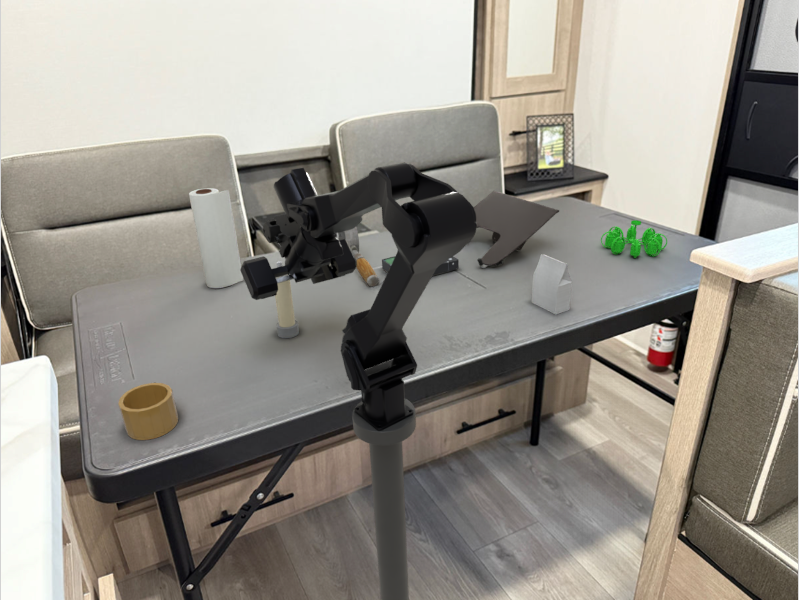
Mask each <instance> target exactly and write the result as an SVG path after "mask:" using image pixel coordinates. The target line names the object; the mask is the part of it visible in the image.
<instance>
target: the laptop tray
mask: <svg viewBox="0 0 799 600" xmlns="http://www.w3.org/2000/svg"><path fill="white" fill-rule="evenodd" d="M473 208H474V210H475V212H476V223H477V227H476V229H478V228H480V229H484V230H488V231H489V232H492V236H491V240H492V241H493V242H495V243H494V244H493V245H492V246H490V248H489V249H488V250H487V251H486V252H485V254H484V255H483V256H482V257H478V258H477V263H478V265H479V267H480V268H481V269H485V268H487V267H488V266H497V267H498V266H500V265H503V264H504V259H506V258H507V257H508V256H510V255H511V254H513V252H515V251H518V252H519V251H521V250H522V249H523V248H524V246H525V244H526V242H527V241H528V240H529V239H530V238H531V237H533V236H534V235H535V234H536V233H537V232H538V231H539V230H541V228H543V227H544V226H545V225H546V224H547V223H548V222H549V221H550V220H551V219H552V218H553V217H554V216H555V215H556V214H558V213H560V209H556V208H554V207H550V206H548V205H547V206H546V205H543V204H540V203H537V202H533V201H529V200H526V199H524V198H520V197H517V196H513V195H509V194H508V193H507V194H506V193H503V192H501V191H496V190H493V191H492V192H490V193H489V194H487V195H486V196H485V197H484V198H483V199H482V200H480V201H479V202H478V203H477V204H475V206H473Z"/></svg>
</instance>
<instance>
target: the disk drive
mask: <svg viewBox="0 0 799 600" xmlns="http://www.w3.org/2000/svg"><path fill="white" fill-rule="evenodd" d="M395 256H396V255H395ZM395 256H390V257H386V258H382V259H381V269H382V270H383V271H385V272H386V274H387V273H388V271H389V269H390V267H391V265H392V262H393V260H394V258H395ZM459 261H460V260H459V259H458V258H457V257H455V256H453V257H451V258H450V259H448V260H447V261H445V262H444V263H442V264H441V265H439V266H438V267H437V269H436V270H435V272H434V274H433V276H434V277H435V276H438V275H442V274H445V273H450V272H453V271H456V270H458V269H459V266H460V265H459V264H460V262H459ZM433 276H432V277H433Z"/></svg>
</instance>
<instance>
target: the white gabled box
mask: <svg viewBox="0 0 799 600" xmlns="http://www.w3.org/2000/svg"><path fill="white" fill-rule="evenodd" d="M570 274H571V273H570V270H569V265H568V263H567V262H564V261H561V260H559V259H557V258H554V257H551V256H549V255H546V254H544V253H542V254H540V257H539V260H538V263H537V265H536V267H535V270H534V272H533V275H532V285H531V286H532V287H531V288H532V289H531V304H534V305H536V306H538V307H539V308H541V309H544V310H545V311H548V312H550V313H551V314H553V315H559V314H562V313H565V312H567V311H570V307H571V299H572V298H571V297H572V287H573V280H572V278H571V275H570Z"/></svg>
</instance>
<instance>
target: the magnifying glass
mask: <svg viewBox="0 0 799 600" xmlns="http://www.w3.org/2000/svg"><path fill="white" fill-rule="evenodd" d="M340 237H342V238H344V239H346V240H347V241H348V243H349V246H350V248H351V250H352V252H353V254H354V256H355V258H356V260H357V266H356V269H357V271H358V272H359V274H360V275H361V277H362V279H363V280H364V281H365V282H366V284H367V285H368V286H369V287H375V286H377V285H378V284H379V282H380V279H379V277H378V275H377V273H376V272H375V270H374V268H373V267H372V265H371V264H370V263H369V261H368V260H367V258H365V257H364V256H363V255H362V254H361V253H360V238H359V231H358V227H357V226H356V227H355V228H354V229H351V230H347V231H343V232H339V238H340Z"/></svg>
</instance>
